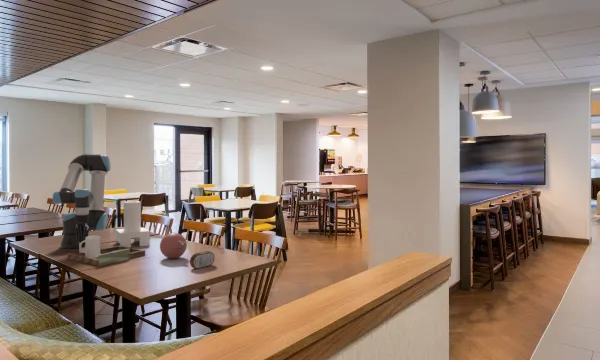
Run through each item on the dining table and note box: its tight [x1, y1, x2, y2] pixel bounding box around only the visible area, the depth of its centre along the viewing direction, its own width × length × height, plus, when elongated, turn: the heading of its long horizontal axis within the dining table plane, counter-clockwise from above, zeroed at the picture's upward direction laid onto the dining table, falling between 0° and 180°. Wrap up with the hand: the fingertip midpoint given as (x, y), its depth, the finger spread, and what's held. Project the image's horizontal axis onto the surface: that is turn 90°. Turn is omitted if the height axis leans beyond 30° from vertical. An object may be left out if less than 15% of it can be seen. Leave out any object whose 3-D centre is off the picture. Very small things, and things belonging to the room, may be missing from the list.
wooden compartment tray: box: [66, 245, 146, 267], centre depth 239 cm, size 32×31×6 cm
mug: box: [78, 234, 101, 259], centre depth 238 cm, size 12×8×12 cm
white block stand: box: [115, 200, 151, 248], centre depth 277 cm, size 19×19×30 cm
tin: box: [189, 250, 215, 269], centre depth 218 cm, size 15×3×8 cm, turn 141°
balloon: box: [159, 232, 188, 260], centre depth 236 cm, size 15×20×15 cm
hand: (82, 252), depth 242 cm, fingers closed
